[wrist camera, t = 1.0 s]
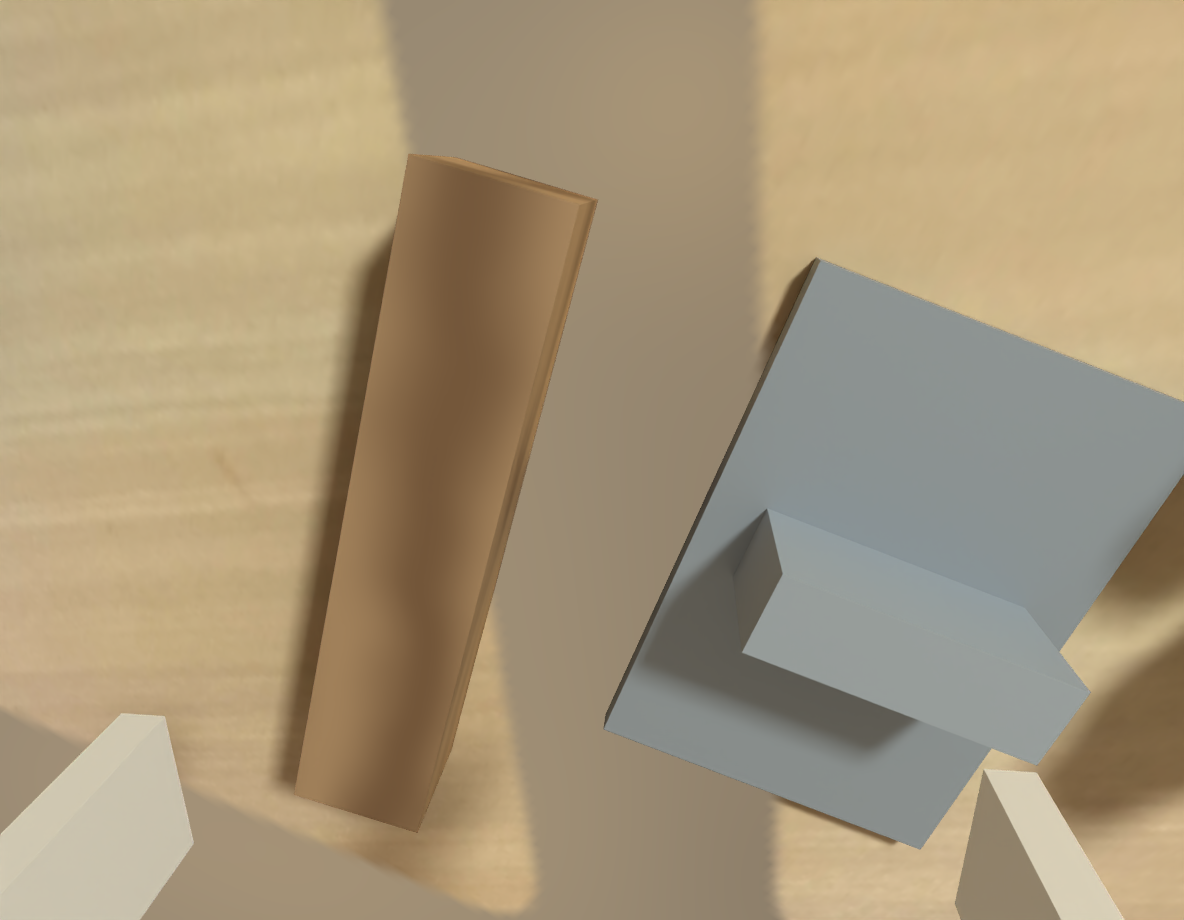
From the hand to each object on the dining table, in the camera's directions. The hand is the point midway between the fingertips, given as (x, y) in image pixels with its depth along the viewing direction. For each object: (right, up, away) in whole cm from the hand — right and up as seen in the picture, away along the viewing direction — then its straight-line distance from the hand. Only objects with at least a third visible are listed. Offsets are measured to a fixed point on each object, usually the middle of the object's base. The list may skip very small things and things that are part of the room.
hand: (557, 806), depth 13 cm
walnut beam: (-5, +4, +18) cm, 19 cm away
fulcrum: (+11, +1, +17) cm, 20 cm away
